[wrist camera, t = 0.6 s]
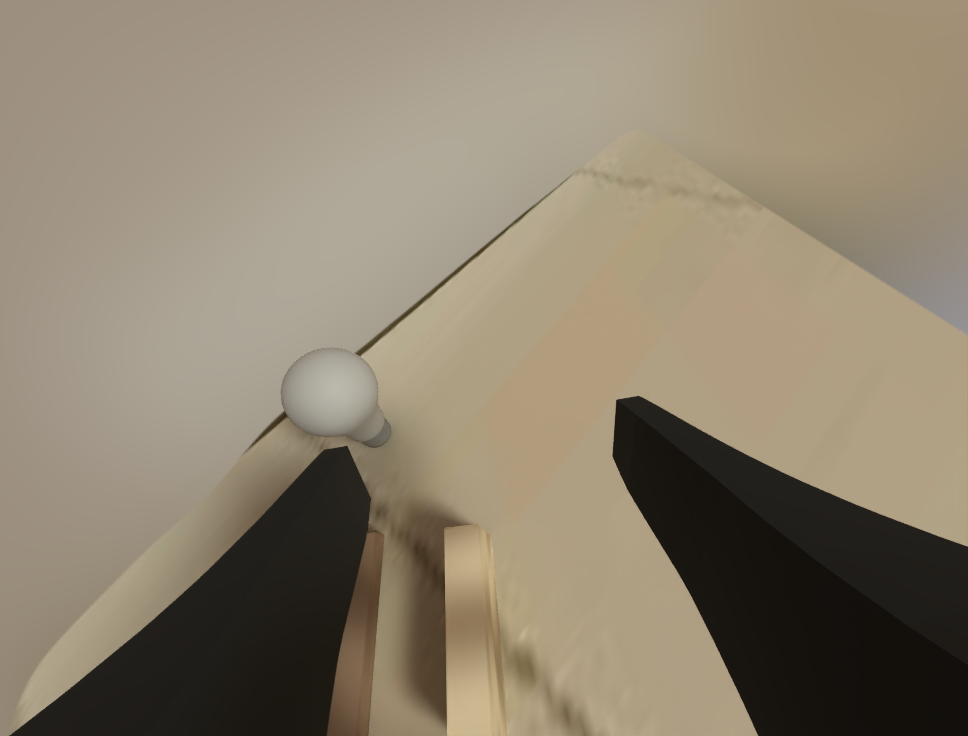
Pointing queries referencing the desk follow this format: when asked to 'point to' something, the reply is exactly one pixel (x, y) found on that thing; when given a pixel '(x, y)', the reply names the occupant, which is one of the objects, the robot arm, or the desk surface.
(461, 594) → the wooden block
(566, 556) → the desk surface
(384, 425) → the lightbulb
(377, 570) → the track board
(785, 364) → the desk surface
